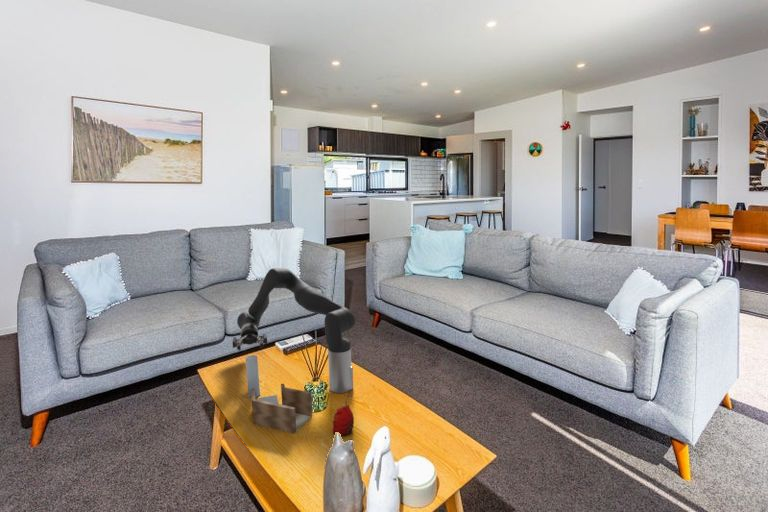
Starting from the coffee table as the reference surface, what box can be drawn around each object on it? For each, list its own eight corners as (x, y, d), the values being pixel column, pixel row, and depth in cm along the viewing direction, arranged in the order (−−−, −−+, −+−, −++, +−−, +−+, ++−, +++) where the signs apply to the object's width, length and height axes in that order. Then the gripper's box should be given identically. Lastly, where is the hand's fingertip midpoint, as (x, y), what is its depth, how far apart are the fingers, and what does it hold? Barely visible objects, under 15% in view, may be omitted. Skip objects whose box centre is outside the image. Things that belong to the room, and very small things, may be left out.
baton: (259, 391, 169) (257, 354, 167) (260, 397, 165) (257, 359, 162) (248, 393, 168) (245, 356, 165) (248, 399, 164) (245, 360, 161)
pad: (276, 395, 166) (276, 394, 166) (278, 404, 160) (278, 403, 160) (258, 398, 164) (258, 398, 164) (259, 407, 157) (259, 406, 157)
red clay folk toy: (343, 422, 147) (342, 383, 144) (358, 429, 143) (357, 389, 140) (328, 433, 141) (326, 392, 138) (344, 440, 137) (343, 398, 134)
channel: (307, 401, 162) (306, 379, 160) (316, 429, 144) (315, 405, 142) (252, 411, 155) (251, 388, 154) (254, 441, 137) (252, 416, 135)
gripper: (232, 327, 186) (231, 340, 171) (265, 323, 191) (267, 336, 176) (233, 343, 188) (233, 357, 173) (266, 339, 192) (268, 353, 177)
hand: (250, 347), depth 174 cm, fingers open, 8 cm apart
